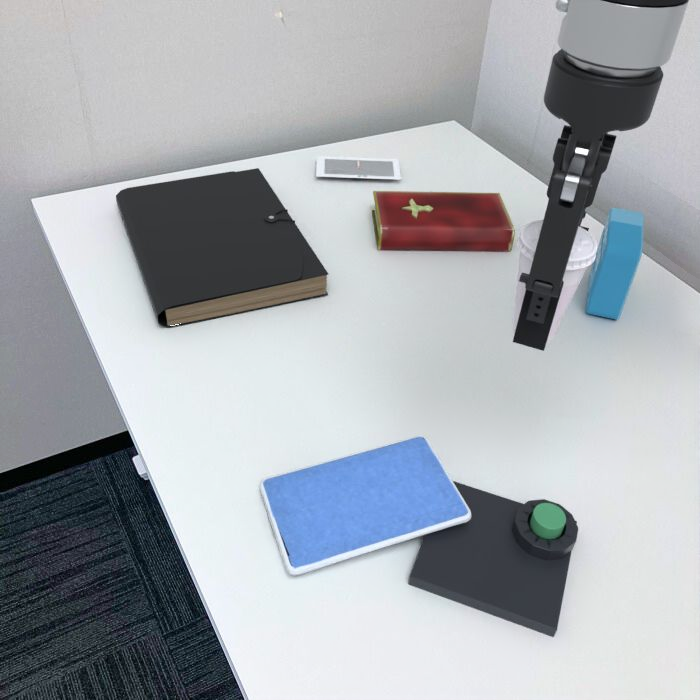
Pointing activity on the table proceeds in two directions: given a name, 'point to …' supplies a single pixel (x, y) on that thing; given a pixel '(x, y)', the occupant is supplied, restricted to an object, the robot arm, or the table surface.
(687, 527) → the table surface
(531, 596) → the black button base
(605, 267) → the data package
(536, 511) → the button
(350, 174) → the white picture frame
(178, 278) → the black photo album
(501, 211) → the hardcover book
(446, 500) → the tablet
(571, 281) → the smoothie
